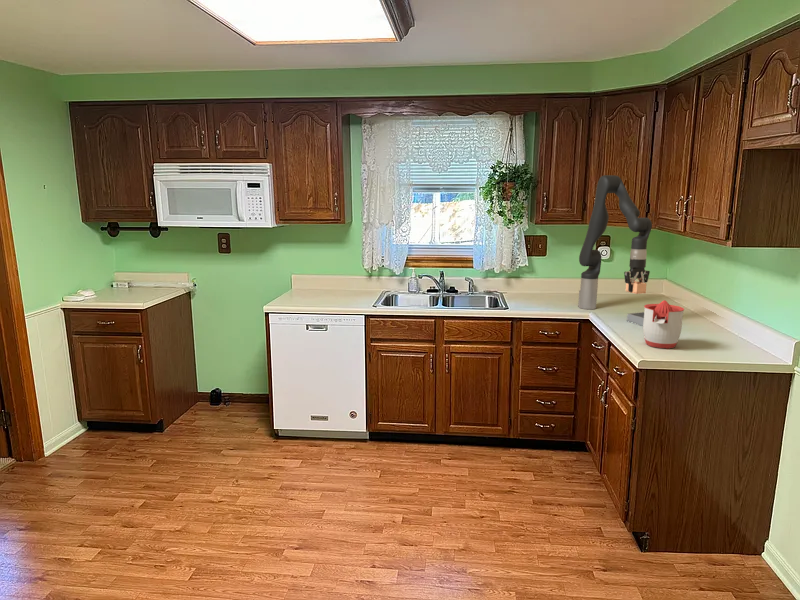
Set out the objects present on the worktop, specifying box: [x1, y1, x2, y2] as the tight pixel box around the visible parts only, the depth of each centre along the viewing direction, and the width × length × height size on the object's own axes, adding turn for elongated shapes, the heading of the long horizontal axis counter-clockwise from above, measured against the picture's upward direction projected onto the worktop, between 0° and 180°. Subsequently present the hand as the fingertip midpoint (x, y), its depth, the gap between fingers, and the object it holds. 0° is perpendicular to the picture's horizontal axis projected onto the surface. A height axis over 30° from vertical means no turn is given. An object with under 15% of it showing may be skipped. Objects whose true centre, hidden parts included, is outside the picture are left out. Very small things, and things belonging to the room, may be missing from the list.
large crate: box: [626, 311, 644, 327], centre depth 284 cm, size 12×14×4 cm
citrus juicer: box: [642, 299, 685, 350], centre depth 241 cm, size 16×17×20 cm
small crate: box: [625, 280, 647, 295], centre depth 282 cm, size 8×6×5 cm
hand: (635, 291), depth 283 cm, fingers closed on small crate, 5 cm apart
